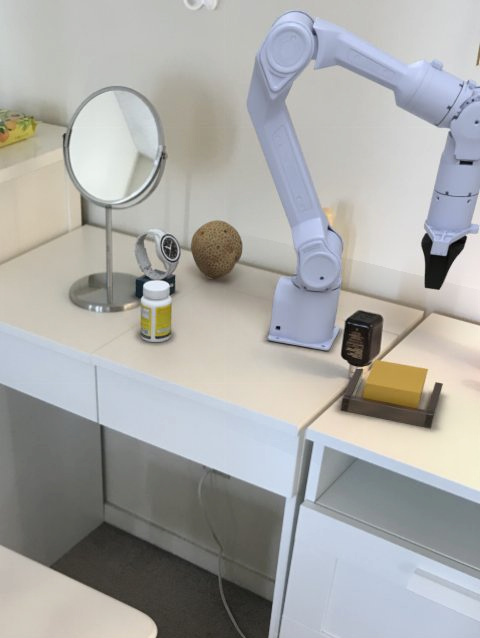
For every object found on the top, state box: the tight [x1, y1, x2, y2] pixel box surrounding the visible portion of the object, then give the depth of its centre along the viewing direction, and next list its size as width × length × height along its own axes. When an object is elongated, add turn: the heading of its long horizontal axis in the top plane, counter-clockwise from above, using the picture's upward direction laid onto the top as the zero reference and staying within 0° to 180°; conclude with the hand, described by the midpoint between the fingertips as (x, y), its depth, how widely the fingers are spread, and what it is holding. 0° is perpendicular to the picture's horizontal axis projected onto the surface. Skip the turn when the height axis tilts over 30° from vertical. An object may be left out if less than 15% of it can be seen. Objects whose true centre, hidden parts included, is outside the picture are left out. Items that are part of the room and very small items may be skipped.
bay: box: [340, 368, 444, 429], centre depth 110 cm, size 12×9×2 cm
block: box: [361, 359, 429, 409], centre depth 110 cm, size 7×7×4 cm
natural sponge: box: [190, 219, 243, 280], centre depth 143 cm, size 9×9×10 cm
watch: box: [134, 227, 182, 299], centre depth 137 cm, size 6×8×11 cm
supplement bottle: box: [140, 280, 173, 343], centre depth 125 cm, size 5×5×8 cm
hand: (432, 287), depth 117 cm, fingers closed
